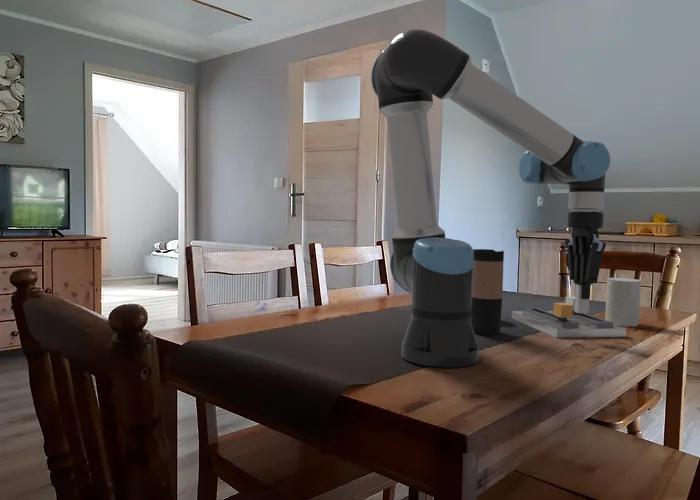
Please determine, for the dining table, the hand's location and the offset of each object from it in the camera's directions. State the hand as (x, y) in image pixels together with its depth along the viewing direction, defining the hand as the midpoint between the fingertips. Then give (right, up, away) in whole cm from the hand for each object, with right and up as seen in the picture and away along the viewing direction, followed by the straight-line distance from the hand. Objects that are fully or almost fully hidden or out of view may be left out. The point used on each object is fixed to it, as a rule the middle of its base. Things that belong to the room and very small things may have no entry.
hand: (581, 312), depth 131 cm
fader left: (-2, -4, +8) cm, 9 cm away
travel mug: (-21, -6, +6) cm, 23 cm away
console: (+2, -5, +15) cm, 16 cm away
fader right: (+6, -3, +19) cm, 20 cm away
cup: (+20, -6, +22) cm, 30 cm away
